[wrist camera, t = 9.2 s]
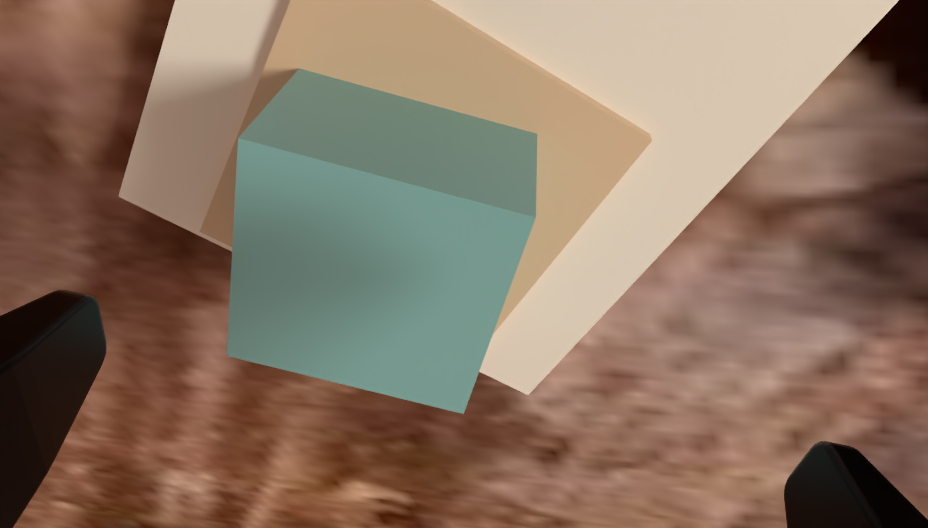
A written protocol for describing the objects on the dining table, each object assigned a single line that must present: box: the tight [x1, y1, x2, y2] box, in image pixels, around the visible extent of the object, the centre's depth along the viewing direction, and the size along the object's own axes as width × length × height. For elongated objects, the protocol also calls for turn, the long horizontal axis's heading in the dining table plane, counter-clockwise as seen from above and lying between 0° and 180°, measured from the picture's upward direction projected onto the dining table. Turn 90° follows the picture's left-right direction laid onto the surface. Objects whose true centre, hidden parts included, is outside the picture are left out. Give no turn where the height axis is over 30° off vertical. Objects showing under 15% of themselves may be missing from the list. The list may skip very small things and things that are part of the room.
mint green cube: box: [227, 68, 537, 414], centre depth 17 cm, size 6×6×4 cm
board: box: [118, 0, 899, 395], centre depth 15 cm, size 19×14×5 cm
